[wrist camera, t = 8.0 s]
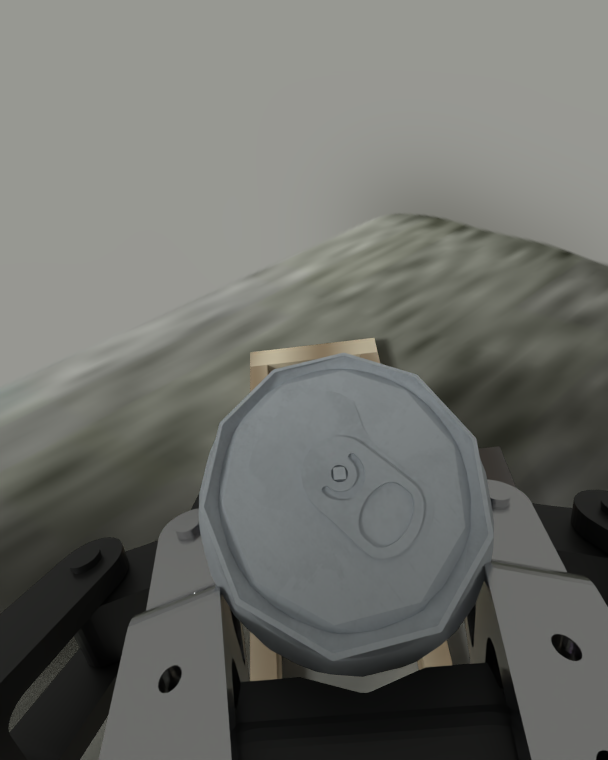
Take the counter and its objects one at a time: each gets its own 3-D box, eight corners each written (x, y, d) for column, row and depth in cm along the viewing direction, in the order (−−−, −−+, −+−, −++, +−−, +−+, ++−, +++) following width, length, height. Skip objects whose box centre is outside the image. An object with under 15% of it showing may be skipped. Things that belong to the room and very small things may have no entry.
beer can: (329, 450, 16) (319, 292, 6) (405, 513, 14) (594, 450, 4) (268, 523, 15) (104, 493, 4) (344, 603, 13) (386, 883, 2)
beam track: (200, 1455, 8) (128, 1957, 5) (233, 365, 23) (220, 343, 20) (828, 1462, 7) (1131, 2029, 4) (433, 342, 22) (447, 316, 19)
